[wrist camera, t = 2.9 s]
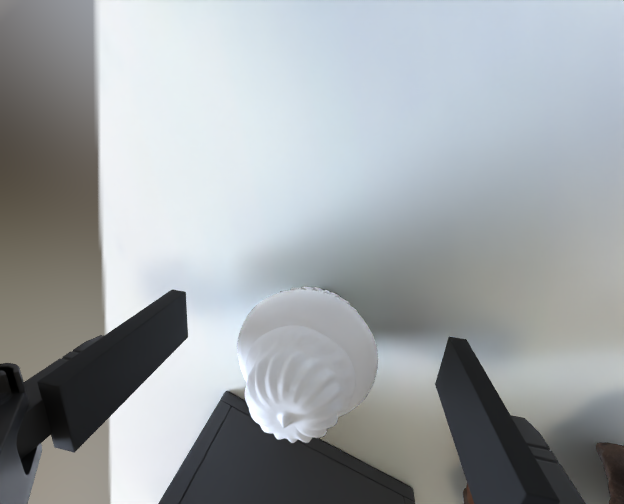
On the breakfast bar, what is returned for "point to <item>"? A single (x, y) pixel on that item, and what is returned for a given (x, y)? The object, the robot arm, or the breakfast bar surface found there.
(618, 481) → the broken terracotta ring
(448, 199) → the breakfast bar surface
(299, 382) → the muffin
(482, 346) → the breakfast bar surface
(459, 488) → the breakfast bar surface
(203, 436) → the open cubby box
